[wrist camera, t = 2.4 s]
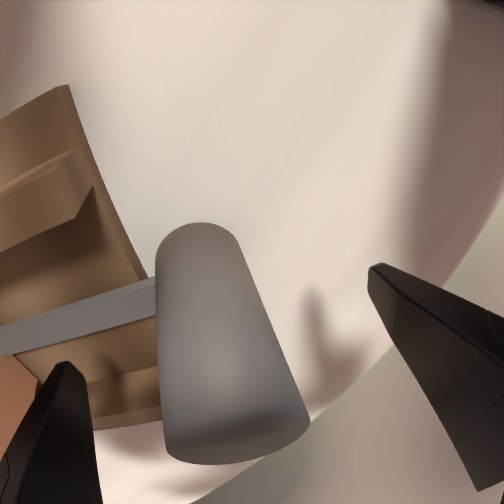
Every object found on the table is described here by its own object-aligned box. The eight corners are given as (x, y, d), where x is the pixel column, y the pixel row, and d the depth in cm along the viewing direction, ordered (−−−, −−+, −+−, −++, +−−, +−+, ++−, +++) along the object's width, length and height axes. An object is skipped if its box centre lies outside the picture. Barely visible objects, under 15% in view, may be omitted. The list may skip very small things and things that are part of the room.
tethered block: (218, 168, 9) (298, 335, 4) (256, 306, 13) (314, 454, 7) (-88, 304, 8) (-131, 404, 2) (-24, 378, 11) (-42, 474, 6)
